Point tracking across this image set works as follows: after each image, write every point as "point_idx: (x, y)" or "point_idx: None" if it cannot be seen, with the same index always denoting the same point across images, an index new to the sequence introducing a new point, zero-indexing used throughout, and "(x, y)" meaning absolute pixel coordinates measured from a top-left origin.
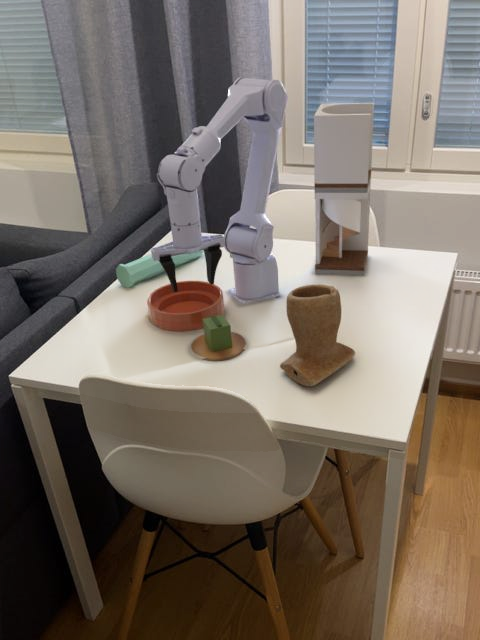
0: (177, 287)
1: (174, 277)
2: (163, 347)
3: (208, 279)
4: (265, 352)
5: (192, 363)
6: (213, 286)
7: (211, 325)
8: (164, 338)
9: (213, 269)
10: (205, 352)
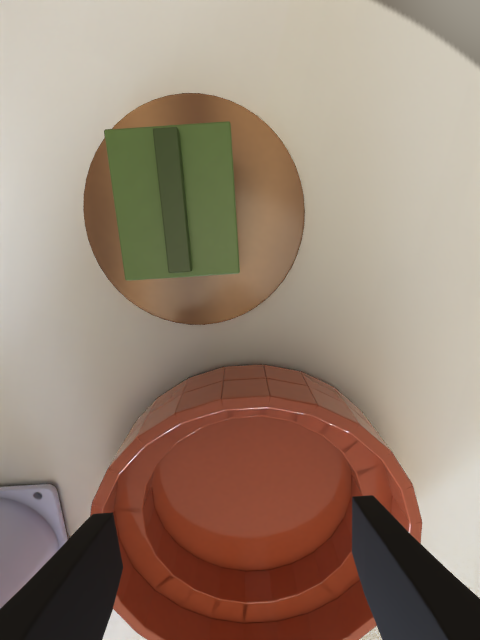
0: (368, 518)
1: (443, 607)
2: (391, 299)
3: (113, 569)
4: (23, 94)
5: (324, 128)
6: (118, 591)
7: (210, 172)
8: (368, 361)
9: (2, 631)
10: (259, 170)
